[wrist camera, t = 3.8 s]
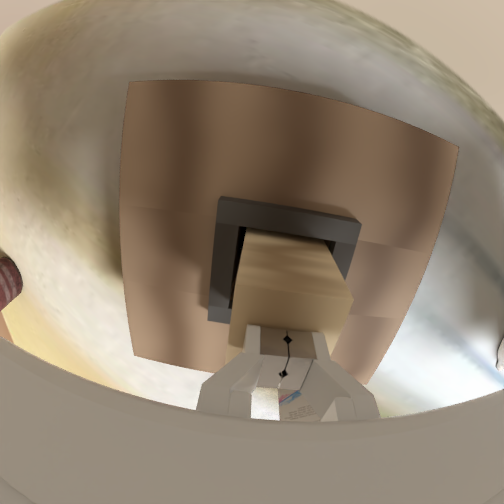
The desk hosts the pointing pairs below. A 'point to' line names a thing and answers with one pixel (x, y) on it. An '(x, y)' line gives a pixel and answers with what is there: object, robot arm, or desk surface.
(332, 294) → the peg
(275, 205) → the sleeve block
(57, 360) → the desk surface
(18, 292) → the can
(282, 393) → the ink box
